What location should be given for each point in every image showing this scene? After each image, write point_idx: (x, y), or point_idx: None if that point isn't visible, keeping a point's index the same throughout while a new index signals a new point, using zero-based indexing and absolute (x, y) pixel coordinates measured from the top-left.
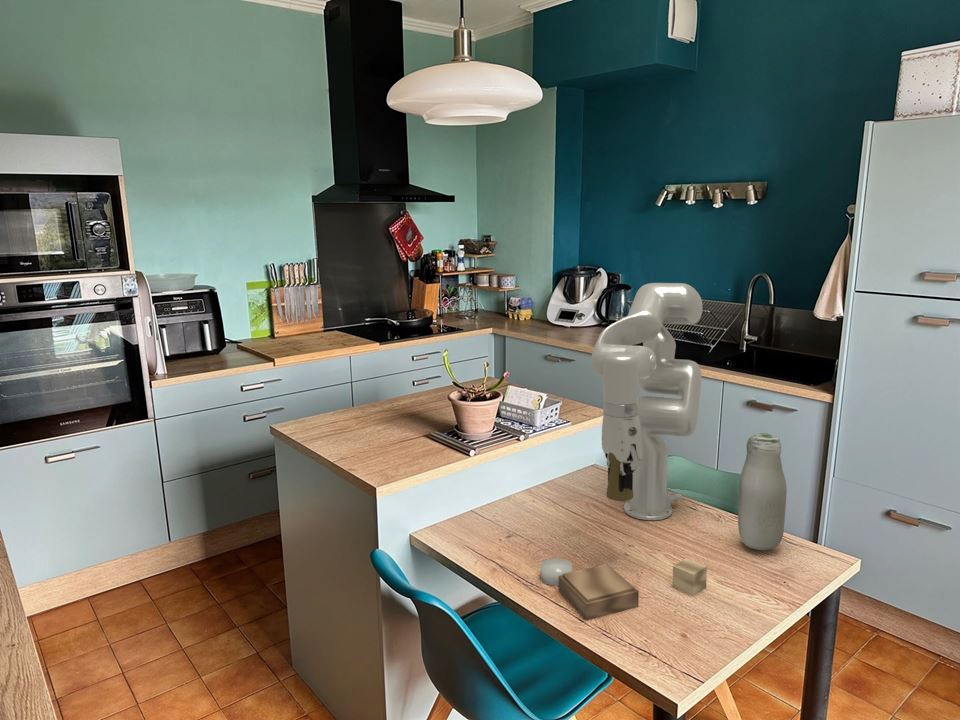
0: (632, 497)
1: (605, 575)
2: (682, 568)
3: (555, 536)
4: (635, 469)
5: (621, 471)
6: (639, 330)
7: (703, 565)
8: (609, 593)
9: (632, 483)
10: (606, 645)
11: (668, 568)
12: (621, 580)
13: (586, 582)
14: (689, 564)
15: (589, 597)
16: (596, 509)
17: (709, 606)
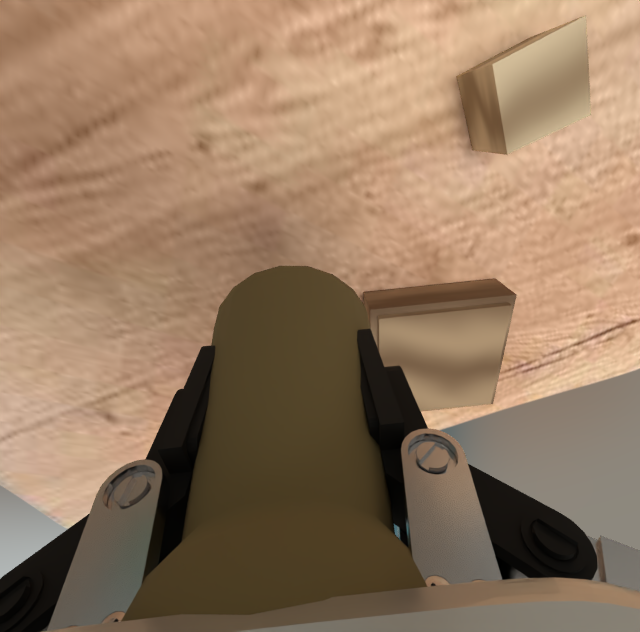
0: (354, 294)
1: (428, 343)
2: (539, 130)
3: (116, 329)
4: (597, 541)
5: (406, 536)
6: None
7: (574, 27)
8: (497, 362)
9: (378, 352)
10: (554, 377)
11: (381, 97)
12: (466, 318)
13: (433, 386)
14: (533, 83)
15: (486, 399)
16: None
17: (604, 101)
